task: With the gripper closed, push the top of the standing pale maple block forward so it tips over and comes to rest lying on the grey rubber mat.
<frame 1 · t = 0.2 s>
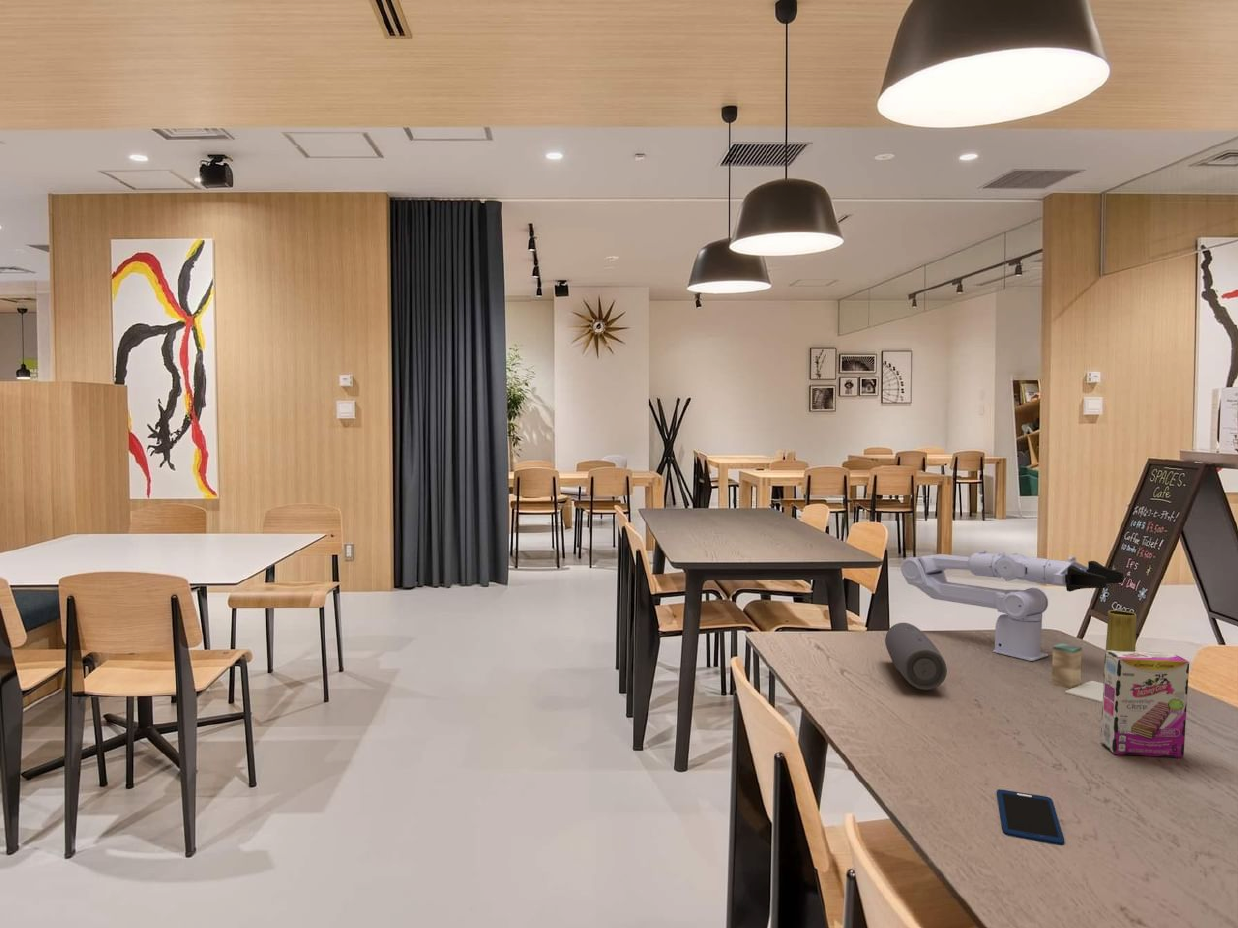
hand: (1114, 580, 172), 21 cm above the table, tool horizontal, fingers open, 7 cm apart
bluetooth speaker: (913, 679, 172), on the table
candy bar box: (1142, 752, 134), on the table
mat: (1101, 693, 163), on the table
cell phone: (1028, 820, 111), on the table
vase: (1119, 678, 173), on the table
block: (1066, 684, 168), on the table
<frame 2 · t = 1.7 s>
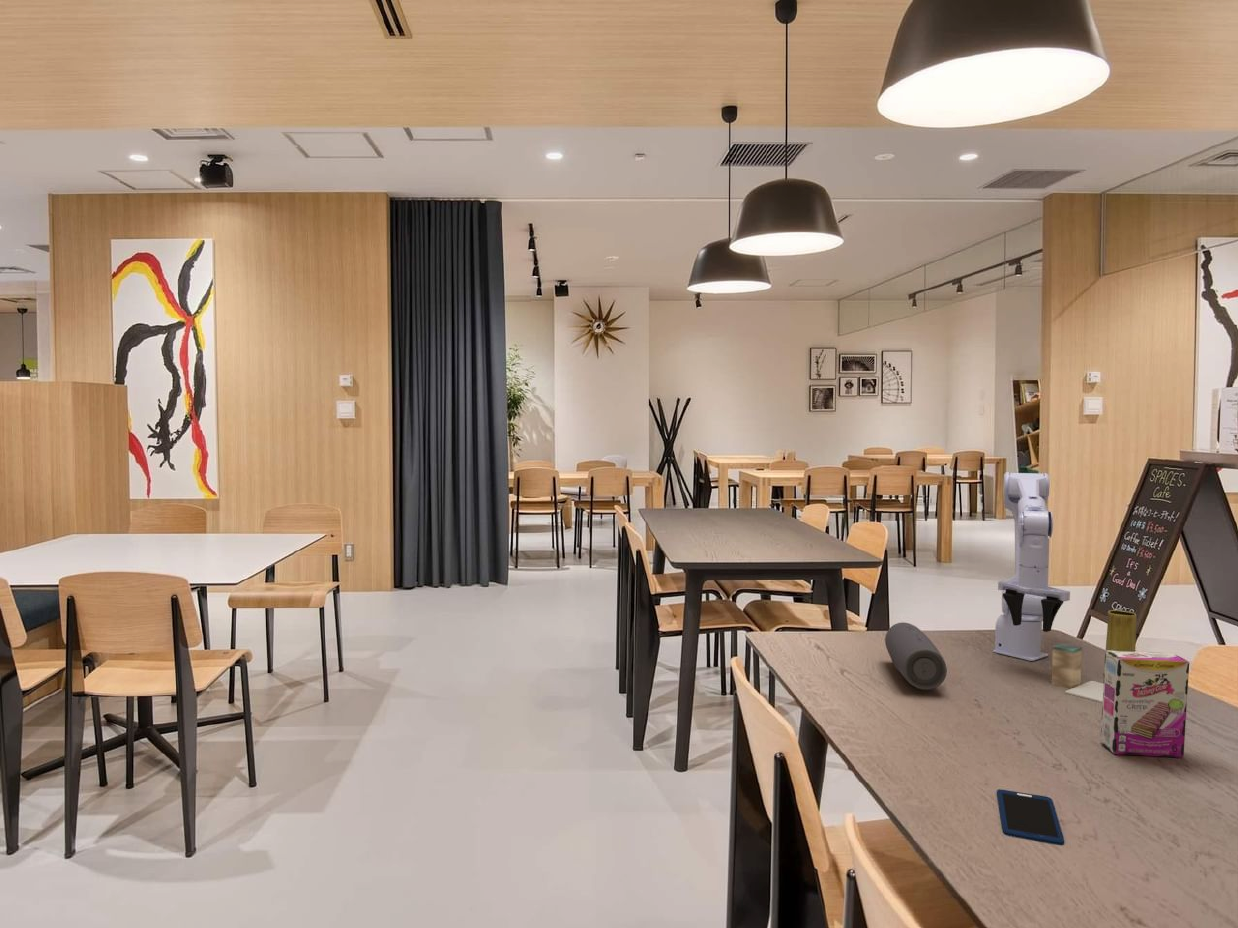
hand: (1031, 627, 174), 10 cm above the table, tool pointing down, fingers open, 6 cm apart
nothing on the table moved.
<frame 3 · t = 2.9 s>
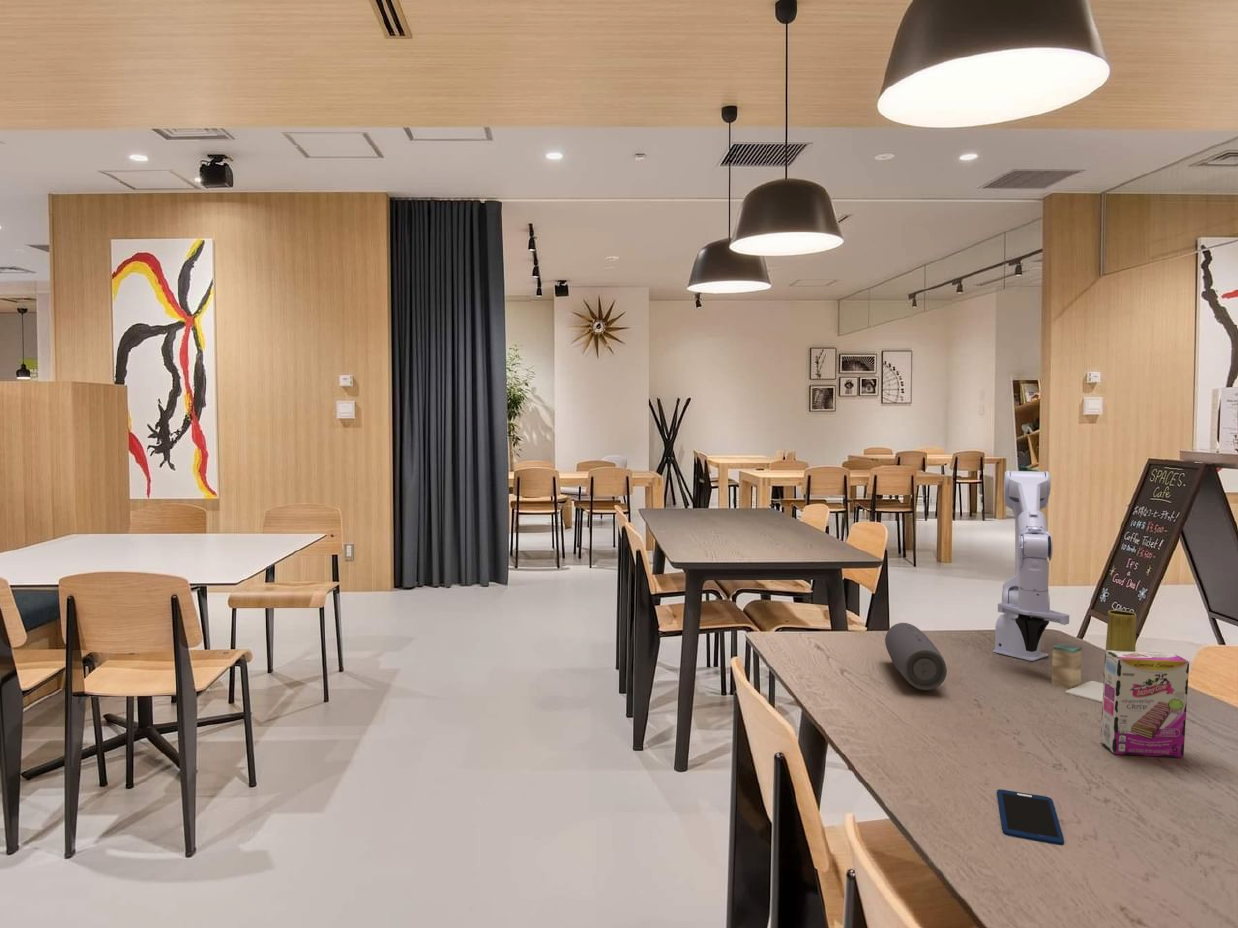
hand: (1031, 650, 174), 5 cm above the table, tool pointing down, fingers closed
nothing on the table moved.
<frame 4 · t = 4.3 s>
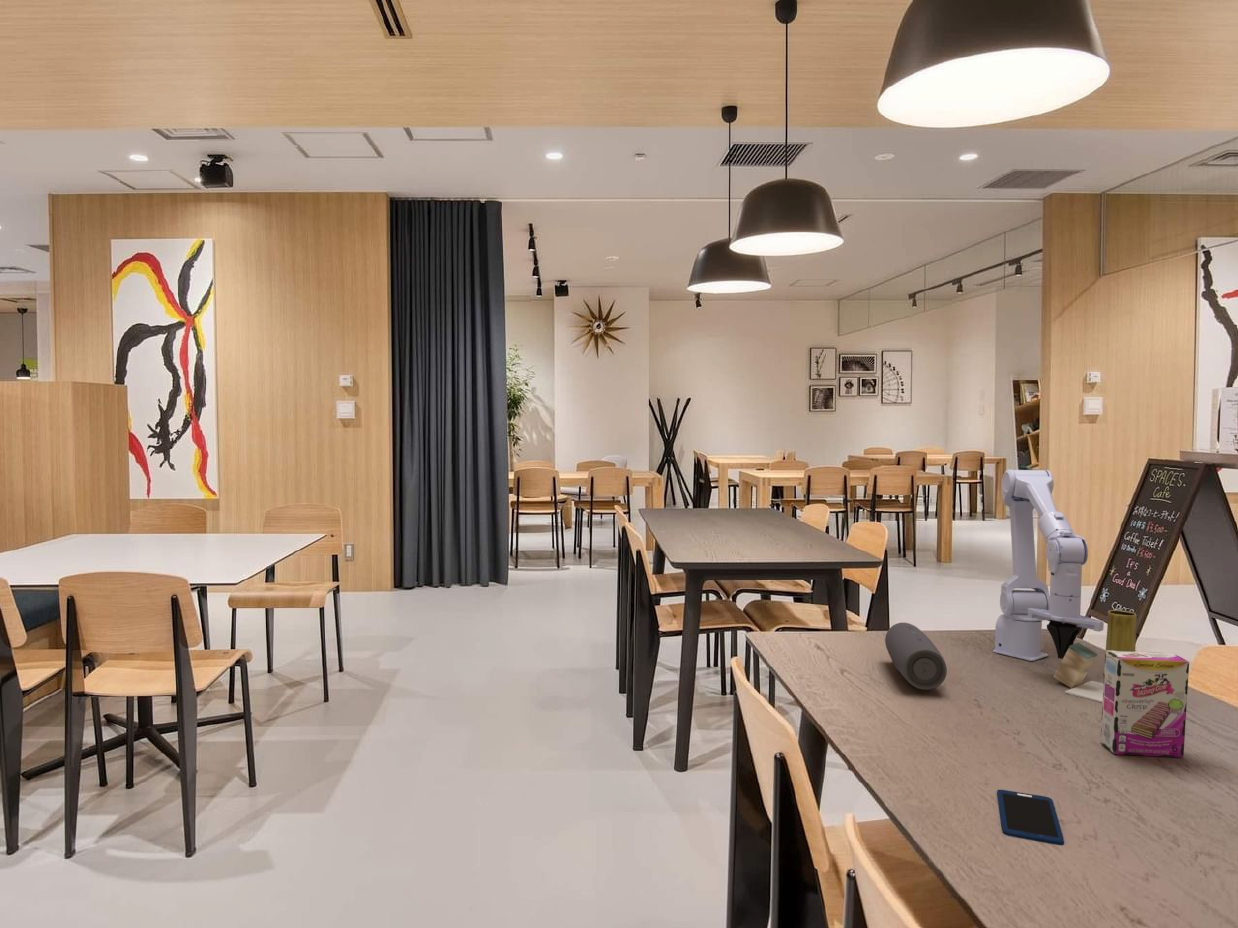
hand: (1063, 657, 169), 5 cm above the table, tool pointing down, fingers closed
block: (1066, 680, 168), point 1 cm above the table, tilted 23°
everything else where it was.
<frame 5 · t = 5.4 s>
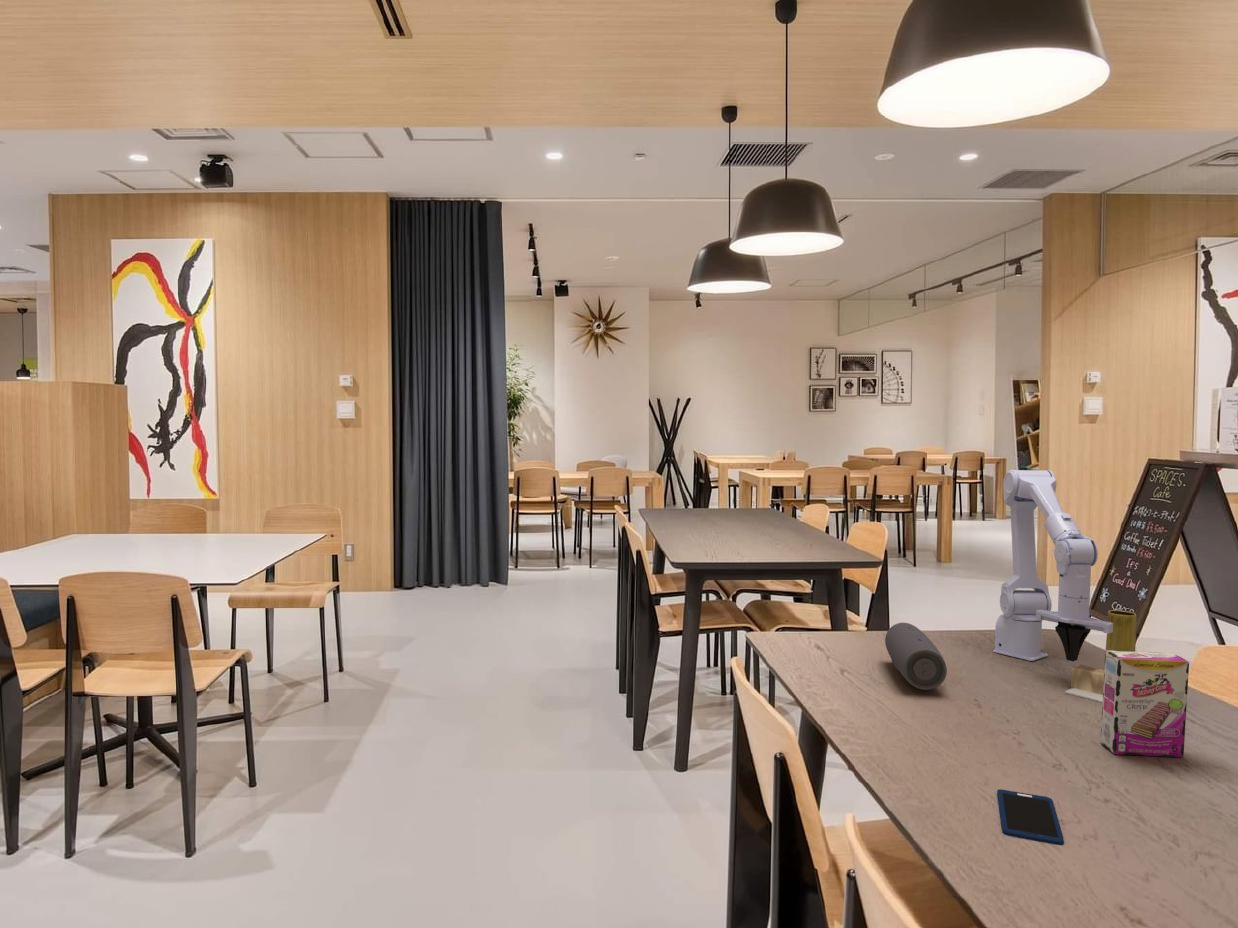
hand: (1071, 659, 167), 5 cm above the table, tool pointing down, fingers closed
block: (1075, 675, 167), point 2 cm above the table, tilted 90°, touching mat
everything else where it was.
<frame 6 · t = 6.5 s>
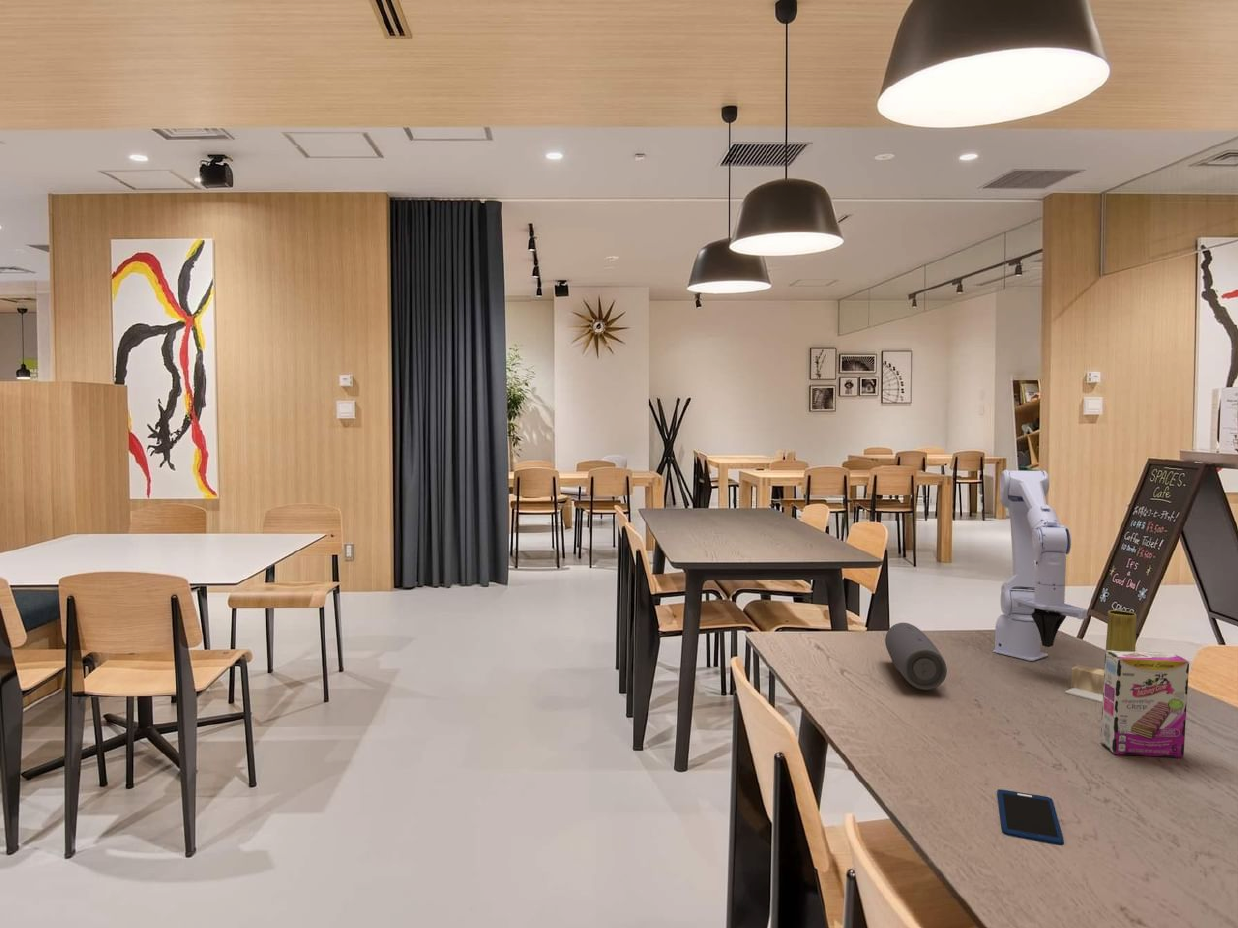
hand: (1047, 645, 171), 7 cm above the table, tool pointing down, fingers closed
nothing on the table moved.
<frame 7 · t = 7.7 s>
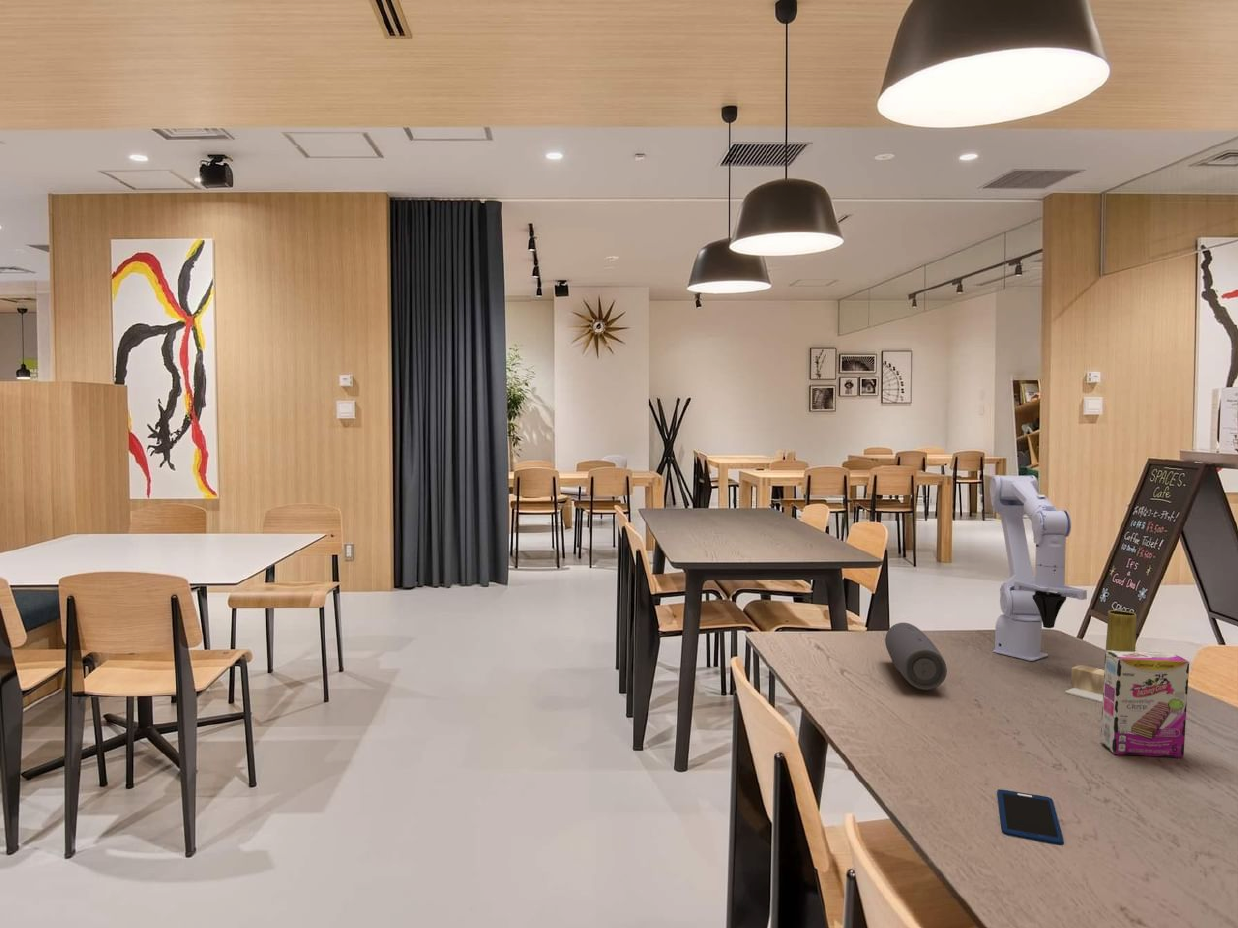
hand: (1048, 627, 174), 10 cm above the table, tool pointing down, fingers closed
nothing on the table moved.
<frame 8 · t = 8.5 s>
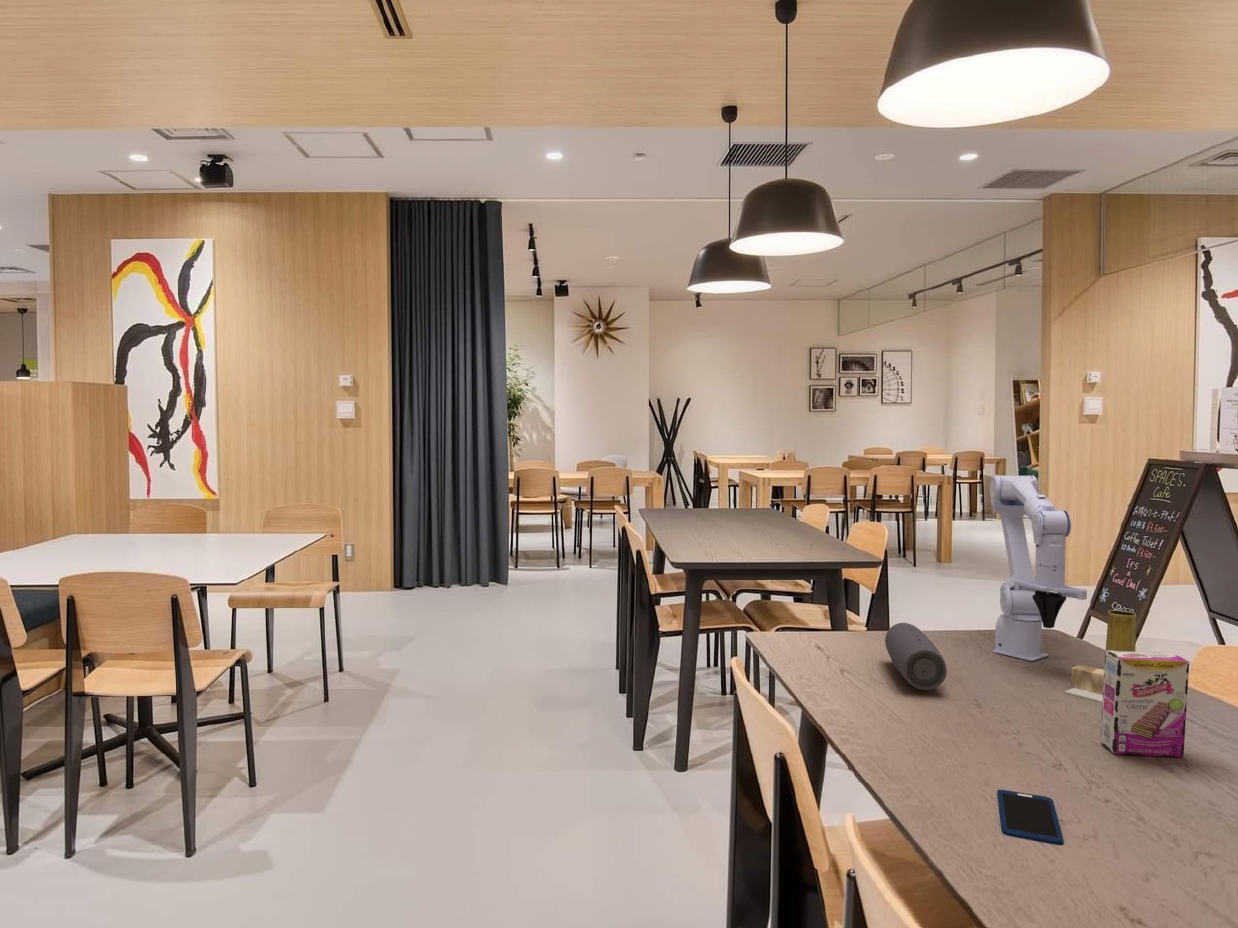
hand: (1048, 627, 174), 10 cm above the table, tool pointing down, fingers closed
nothing on the table moved.
at the end: block tilted 90°; block inside the target area on the mat (3.6 cm from its centre), point 2.3 cm above the mat's base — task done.
